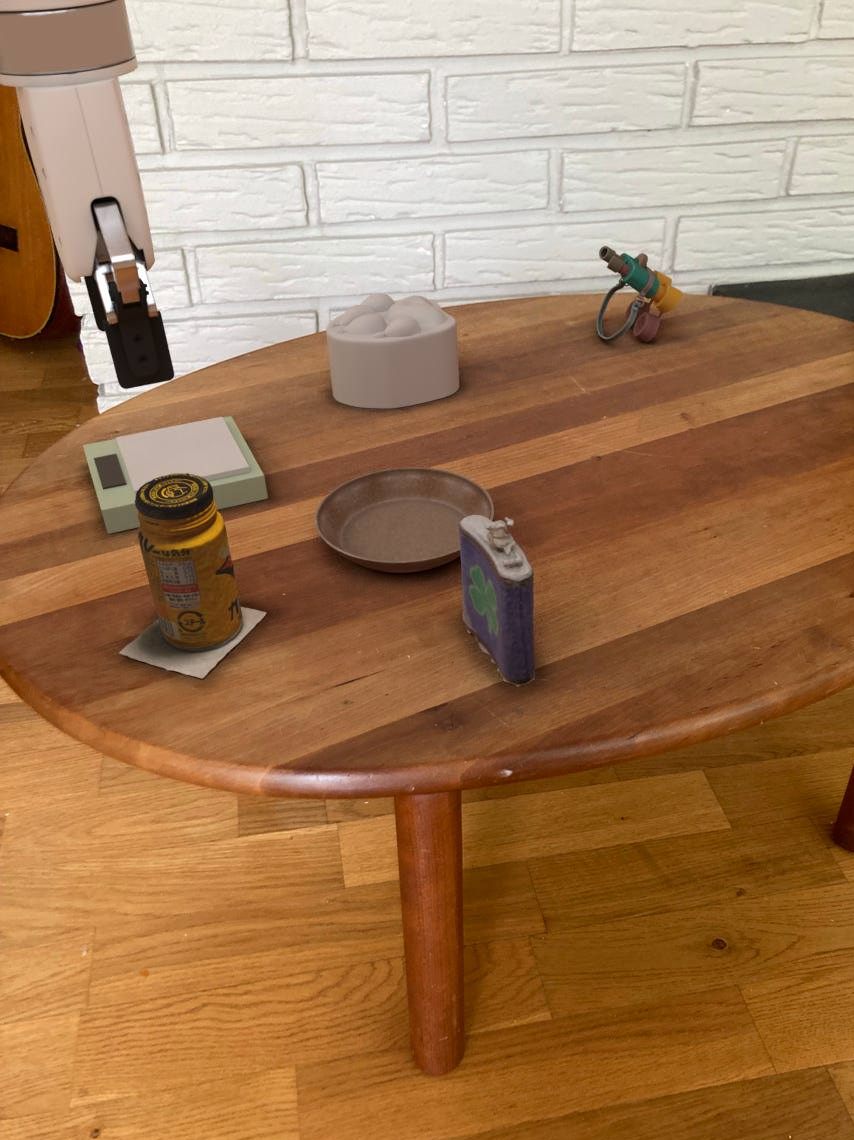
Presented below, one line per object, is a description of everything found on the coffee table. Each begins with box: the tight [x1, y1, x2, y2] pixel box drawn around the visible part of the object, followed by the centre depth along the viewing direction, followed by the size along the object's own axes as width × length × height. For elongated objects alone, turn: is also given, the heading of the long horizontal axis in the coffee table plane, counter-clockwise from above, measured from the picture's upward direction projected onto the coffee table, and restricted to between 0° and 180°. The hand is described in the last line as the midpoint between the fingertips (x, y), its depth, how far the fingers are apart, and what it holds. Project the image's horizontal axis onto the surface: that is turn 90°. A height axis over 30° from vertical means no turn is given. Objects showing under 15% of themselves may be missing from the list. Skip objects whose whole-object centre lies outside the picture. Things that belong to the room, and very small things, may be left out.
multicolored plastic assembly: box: [596, 245, 683, 343], centre depth 121 cm, size 9×9×10 cm
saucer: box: [314, 466, 495, 574], centre depth 90 cm, size 15×15×3 cm
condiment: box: [118, 473, 267, 680], centre depth 77 cm, size 7×8×12 cm
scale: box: [82, 415, 269, 535], centre depth 98 cm, size 14×13×3 cm
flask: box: [459, 515, 536, 688], centre depth 75 cm, size 9×3×11 cm, turn 24°
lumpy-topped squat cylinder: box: [325, 292, 460, 409], centre depth 112 cm, size 10×13×9 cm
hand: (134, 353), depth 67 cm, fingers open, 9 cm apart
